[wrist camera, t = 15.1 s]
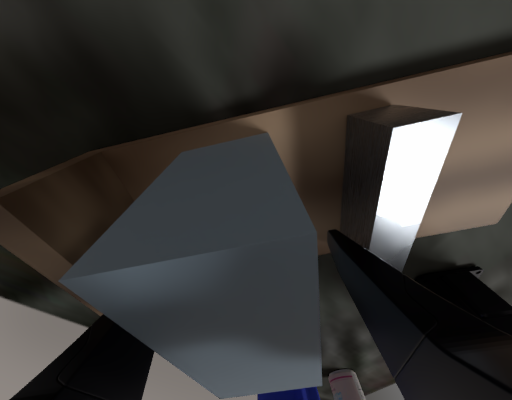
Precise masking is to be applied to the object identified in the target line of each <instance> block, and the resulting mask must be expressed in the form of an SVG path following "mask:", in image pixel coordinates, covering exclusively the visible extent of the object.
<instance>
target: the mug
mask: <svg viewBox="0 0 512 400" xmlns="http://www.w3.org/2000/svg"><path fill="white" fill-rule="evenodd" d="M258 400H320V398H319V394H318V390H317V387H309V388H301V389H293V390H286V391H278V392H270V393H262V394H258Z"/></svg>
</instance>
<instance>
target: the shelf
mask: <svg viewBox="0 0 512 400" xmlns="http://www.w3.org/2000/svg"><path fill="white" fill-rule="evenodd" d="M393 104H395V105H403V106H411V107H419V108H427V109H435V110H443V111H451V112H459V113H462V116H461V118H460V121H459V123H458V126H457V129H456V131H455V134H454V137H453V139H452V142H451V144H450V147H449V150H448V152H447V155H446V158H445V160H444V163H443V165H442V168H441V171H440V173H439V176H438V179H437V181H436V184H435V186H434V189H433V192H432V194H431V197H430V200H429V202H428V205H427V207H426V210H425V213H424V215H423V218H422V221H421V223H420V226H419V228H418V231H417V234H416V236H415V238H419V237H424V236H430V235H436V234H441V233H447V232H452V231H458V230H464V229H469V228H475V227H481V226H486V225H492V224H497V223H498V221H499V220H500V219H501V217H502V216H503V214H504V213H505V211H506V210H507V208H508V207H509V205H510V204H511V202H512V51H511V52H507V53H503V54H498V55H494V56H490V57H486V58H482V59H477V60H473V61H469V62H465V63H460V64H456V65H452V66H448V67H444V68H439V69H435V70H431V71H427V72H422V73H418V74H414V75H410V76H406V77H401V78H397V79H393V80H389V81H384V82H380V83H376V84H372V85H368V86H363V87H359V88H355V89H351V90H346V91H342V92H338V93H334V94H330V95H325V96H321V97H317V98H313V99H309V100H304V101H300V102H296V103H292V104H287V105H283V106H279V107H275V108H271V109H266V110H262V111H258V112H254V113H249V114H245V115H241V116H237V117H233V118H228V119H224V120H220V121H216V122H211V123H207V124H203V125H199V126H195V127H190V128H186V129H182V130H178V131H173V132H169V133H165V134H161V135H157V136H152V137H148V138H144V139H140V140H136V141H131V142H127V143H123V144H119V145H114V146H110V147H106V148H102V149H98V150H93V151H89V152H87V153H85V154H82V155H80V156H78V157H75V158H73V159H70V160H68V161H66V162H63V163H61V164H59V165H56V166H54V167H51V168H49V169H47V170H44V171H42V172H40V173H37V174H35V175H33V176H30V177H28V178H25V179H23V180H21V181H18V182H16V183H14V184H11V185H9V186H6V187H4V188H2V189H0V245H2V246H3V247H4V248H6V249H7V250H9V251H10V252H11V253H13V254H14V255H16V256H17V257H18V258H20V259H21V260H23V261H24V262H25V263H27V264H28V265H30V266H31V267H32V268H34V269H35V270H37V271H38V272H39V273H41V274H42V275H44V276H45V277H47V278H48V279H49V280H51V281H52V282H54V283H55V284H56V285H58V286H59V287H61V288H62V289H63V290H65V291H66V292H68V293H69V294H70V295H72V296H73V297H75V298H76V299H77V300H79V301H80V302H82V303H83V304H84V305H86V306H87V307H89V308H90V309H91V310H93V311H94V312H96V313H97V314H98V315H100V316H102V315H103V313H101V312H100V311H99V310H97V309H96V308H94V307H93V306H92V305H90V304H89V303H88V302H86V301H85V300H83V299H82V298H81V297H79V296H78V295H77V294H75V293H74V292H72V291H71V290H70V289H68V288H67V287H66V286H64V285H63V284H62V283H60V282H59V280H60V279H61V278H62V277H63V275H64V274H65V273H66V272H67V271H68V270H69V269H70V268H71V267H72V266H73V265H74V264H75V263H76V262H77V261H78V260H79V259H80V258H81V257H82V256H83V255H84V254H85V252H86V251H87V250H88V249H89V248H90V247H91V246H92V245H93V244H94V243H95V242H96V241H97V240H98V239H99V238H100V237H101V236H102V235H103V234H104V233H105V232H106V231H107V230H108V228H109V227H110V226H111V225H112V224H113V223H114V222H115V221H116V220H117V219H118V218H119V217H120V216H121V215H122V214H123V213H124V212H125V211H126V210H127V209H128V208H129V207H130V206H131V204H132V203H133V202H134V201H135V200H136V199H137V198H138V197H139V196H140V195H141V194H142V193H143V192H144V191H145V190H146V189H147V188H148V187H149V186H150V185H151V184H152V183H153V181H154V180H155V179H156V178H157V177H158V176H159V175H160V174H161V173H162V172H163V171H164V170H165V169H166V168H167V167H168V166H169V165H170V164H171V163H172V162H173V161H174V160H175V159H176V157H177V156H178V155H179V154H180V153H181V152H184V151H189V150H193V149H197V148H202V147H206V146H210V145H215V144H219V143H223V142H228V141H232V140H236V139H241V138H245V137H249V136H254V135H258V134H262V133H267V132H268V133H269V136H270V138H271V140H272V142H273V144H274V146H275V148H276V150H277V152H278V154H279V156H280V158H281V160H282V162H283V164H284V166H285V168H286V170H287V172H288V174H289V176H290V178H291V180H292V182H293V184H294V186H295V188H296V191H297V193H298V195H299V197H300V199H301V201H302V203H303V205H304V207H305V209H306V211H307V213H308V215H309V217H310V219H311V221H312V223H313V225H314V227H315V229H316V231H317V248H318V255H323V254H329V253H331V252H330V249H329V247H328V243H327V232H328V230H332V229H336V230H338V231H340V222H341V206H342V190H343V174H344V159H345V143H346V127H347V115H349V114H354V113H358V112H363V111H367V110H371V109H376V108H380V107H384V106H389V105H393Z"/></svg>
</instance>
